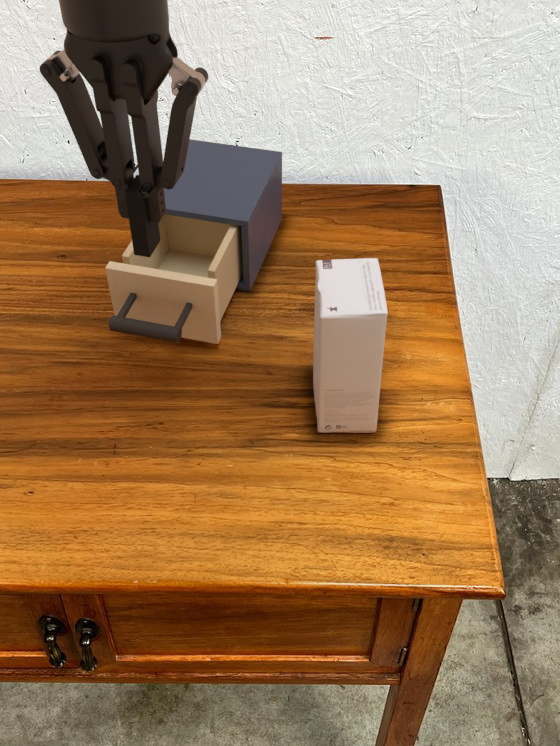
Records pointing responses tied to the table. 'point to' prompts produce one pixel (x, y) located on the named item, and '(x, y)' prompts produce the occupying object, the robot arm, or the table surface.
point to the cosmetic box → (348, 344)
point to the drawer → (177, 282)
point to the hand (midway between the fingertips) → (147, 247)
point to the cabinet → (232, 196)
